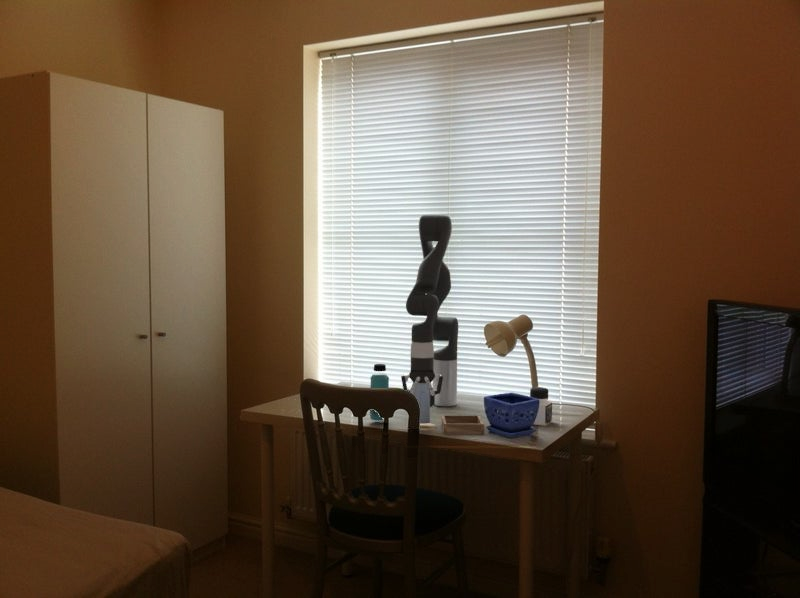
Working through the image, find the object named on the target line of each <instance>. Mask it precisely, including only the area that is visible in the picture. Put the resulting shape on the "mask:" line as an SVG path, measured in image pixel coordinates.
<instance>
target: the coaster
mask: <svg viewBox="0 0 800 598" xmlns="http://www.w3.org/2000/svg"><path fill="white" fill-rule="evenodd" d="M437 427H438V426H437V425H436V424H434V423H431V422H430V423H425V424H420V430H419V431H431V430H435V429H437ZM406 428H407V425H406Z"/></svg>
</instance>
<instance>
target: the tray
mask: <svg viewBox="0 0 800 598" xmlns="http://www.w3.org/2000/svg"><path fill="white" fill-rule="evenodd" d="M441 427H442V431H443V434H444V435H446V434H451V435H453V434H455V435H456V434H457V435H458V434H459V435H462V434H463V435H465V434H466V435H467V434H469V435H472V434H473V435H481V434H485V423H484V422H483V420H482V417H481V415H480V414H441Z"/></svg>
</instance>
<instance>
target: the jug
mask: <svg viewBox="0 0 800 598" xmlns="http://www.w3.org/2000/svg"><path fill="white" fill-rule="evenodd" d="M430 384H431V385H432V382H431V383H430ZM413 395H414V396H415V397H416V399H417V401H418V403H419V406H420V424H425V423H431V408H432V407H430V396H431V393H430V389H429V383H415V390H414V393H413Z"/></svg>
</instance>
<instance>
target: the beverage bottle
mask: <svg viewBox="0 0 800 598" xmlns="http://www.w3.org/2000/svg"><path fill="white" fill-rule="evenodd" d="M373 365H374V366H373V371H374V372H378V373H373V374H372V375H371V376H370V388H390V387H389V386H390V383H389V381H390V377H389V375H388V374H386V373H381V372H386V371H387V367H386V366H387V365H386V364H383V363H376V364H373ZM379 372H380V373H379ZM370 388H369V389H370ZM369 418H370V420H372V421H380V422H381V421H384V420H383V419H382V418H381V417H379V415H378V413H377V412H375V411H374V410H370V409H369Z"/></svg>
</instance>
